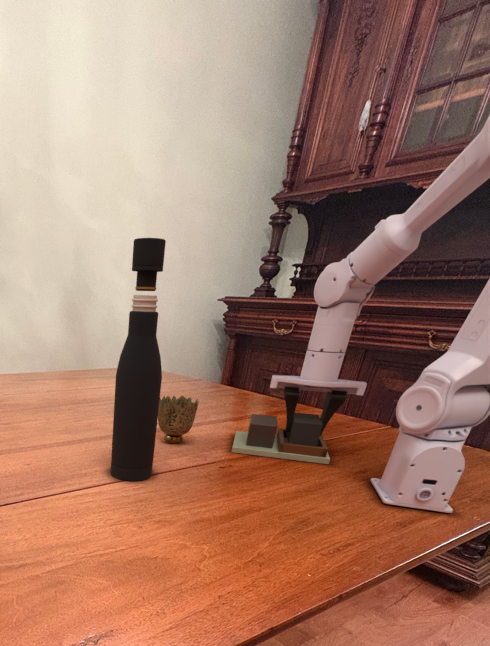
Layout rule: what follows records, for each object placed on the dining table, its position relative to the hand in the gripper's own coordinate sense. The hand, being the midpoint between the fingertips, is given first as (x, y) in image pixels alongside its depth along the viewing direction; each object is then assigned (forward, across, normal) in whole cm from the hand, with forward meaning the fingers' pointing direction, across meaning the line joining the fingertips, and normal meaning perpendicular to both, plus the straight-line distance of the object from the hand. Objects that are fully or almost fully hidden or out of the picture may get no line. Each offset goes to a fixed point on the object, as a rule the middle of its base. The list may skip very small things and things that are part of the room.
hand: (303, 432), depth 77 cm
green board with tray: (+3, +4, 0) cm, 5 cm away
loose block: (+1, 0, 0) cm, 1 cm away
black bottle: (+4, +26, +24) cm, 35 cm away
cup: (+4, +22, +4) cm, 23 cm away
